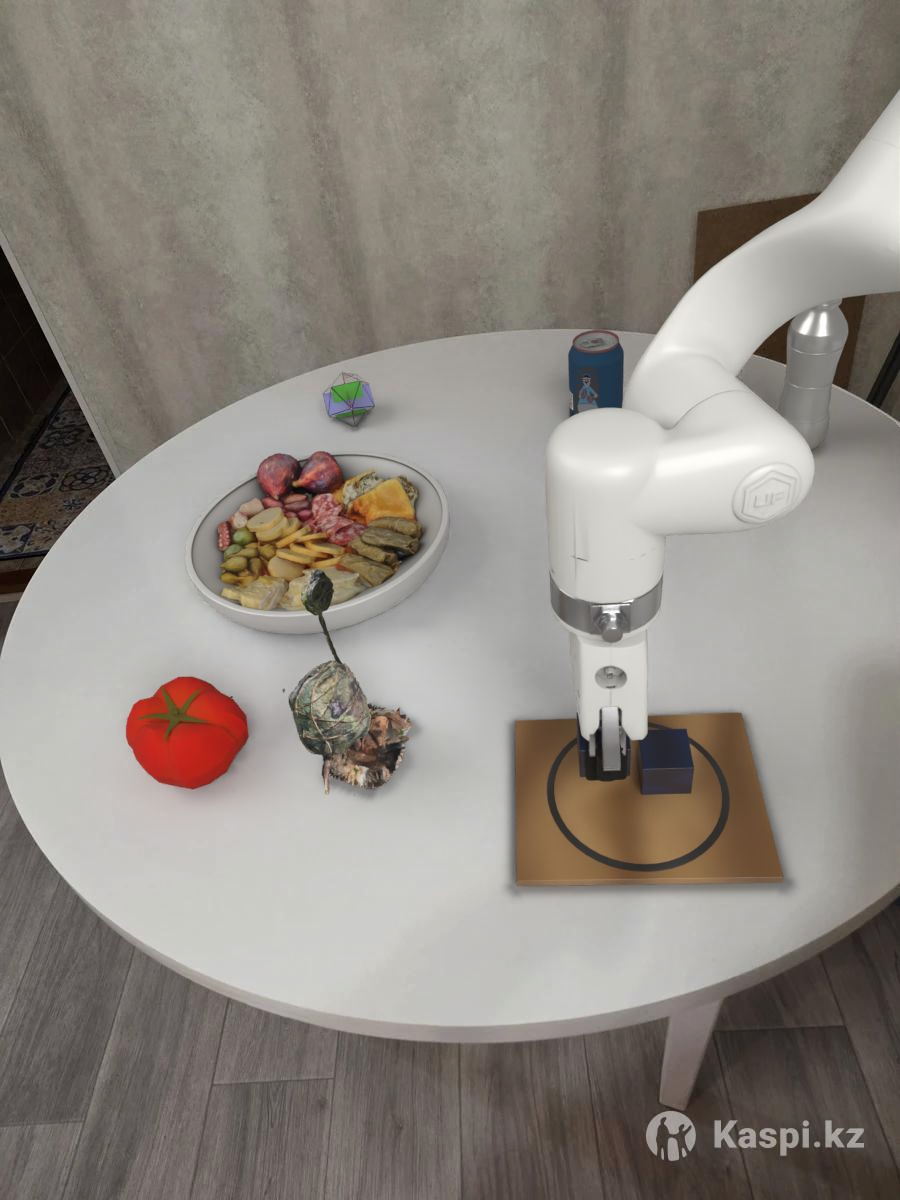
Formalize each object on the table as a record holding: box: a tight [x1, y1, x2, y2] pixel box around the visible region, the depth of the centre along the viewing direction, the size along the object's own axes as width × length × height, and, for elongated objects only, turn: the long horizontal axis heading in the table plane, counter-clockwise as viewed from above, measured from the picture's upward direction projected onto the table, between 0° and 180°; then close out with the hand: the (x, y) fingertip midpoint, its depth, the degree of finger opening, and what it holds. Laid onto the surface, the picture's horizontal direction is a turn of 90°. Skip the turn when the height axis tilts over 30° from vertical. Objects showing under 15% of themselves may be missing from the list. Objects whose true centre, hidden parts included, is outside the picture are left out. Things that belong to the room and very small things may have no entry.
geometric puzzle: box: [321, 371, 376, 429], centre depth 122 cm, size 7×7×8 cm
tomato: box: [125, 676, 250, 790], centre depth 79 cm, size 10×11×6 cm
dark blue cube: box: [636, 729, 694, 795], centre depth 71 cm, size 4×4×4 cm
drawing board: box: [515, 712, 784, 887], centre depth 72 cm, size 20×16×1 cm
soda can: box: [567, 329, 625, 418], centre depth 112 cm, size 7×7×12 cm
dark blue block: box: [576, 711, 631, 777], centre depth 70 cm, size 4×4×4 cm
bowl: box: [184, 450, 451, 635], centre depth 98 cm, size 30×30×8 cm
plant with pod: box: [281, 569, 414, 796], centre depth 72 cm, size 8×11×20 cm
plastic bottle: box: [775, 298, 849, 451], centre depth 100 cm, size 6×7×20 cm
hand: (603, 751), depth 71 cm, fingers closed on dark blue block, 4 cm apart
